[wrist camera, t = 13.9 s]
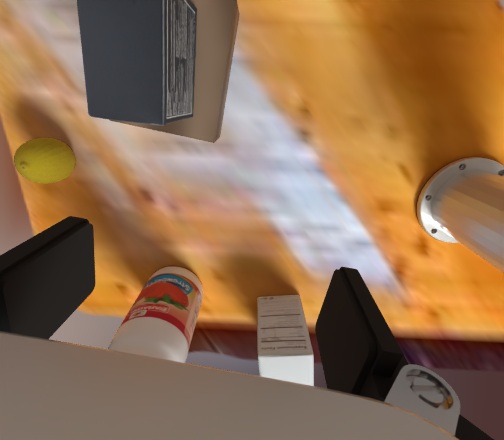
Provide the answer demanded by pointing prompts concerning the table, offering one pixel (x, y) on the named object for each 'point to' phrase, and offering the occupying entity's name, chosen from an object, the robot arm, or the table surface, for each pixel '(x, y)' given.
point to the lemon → (45, 160)
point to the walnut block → (208, 71)
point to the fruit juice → (162, 316)
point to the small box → (139, 59)
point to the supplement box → (284, 340)
